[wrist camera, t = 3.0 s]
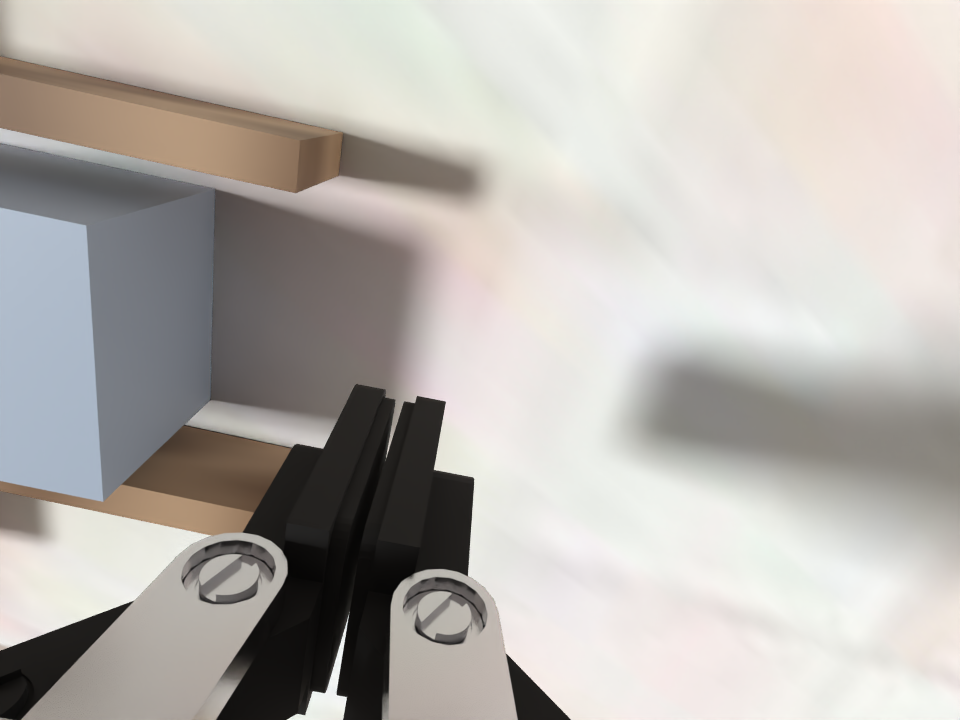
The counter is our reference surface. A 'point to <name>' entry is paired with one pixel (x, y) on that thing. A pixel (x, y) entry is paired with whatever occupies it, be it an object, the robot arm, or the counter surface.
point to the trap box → (204, 148)
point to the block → (98, 318)
